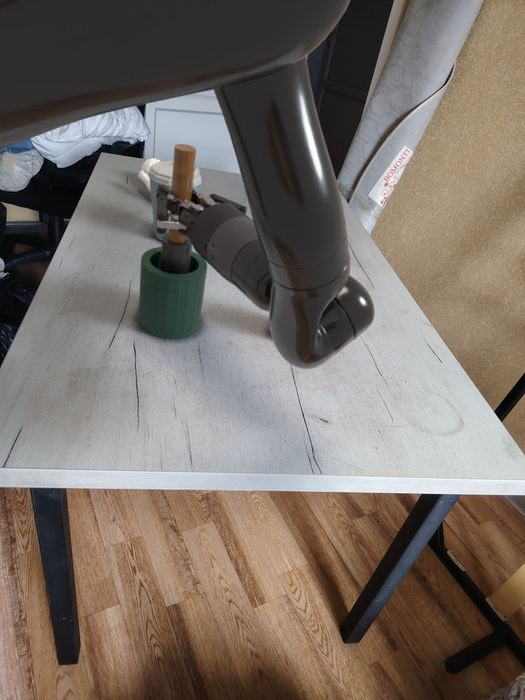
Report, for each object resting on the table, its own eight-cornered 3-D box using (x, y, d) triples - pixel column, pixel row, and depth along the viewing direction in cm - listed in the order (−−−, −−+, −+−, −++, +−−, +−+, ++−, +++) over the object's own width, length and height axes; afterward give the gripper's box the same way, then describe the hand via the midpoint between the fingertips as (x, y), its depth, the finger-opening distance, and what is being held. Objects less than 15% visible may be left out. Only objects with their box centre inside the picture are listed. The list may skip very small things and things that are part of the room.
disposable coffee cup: (151, 248, 97) (155, 175, 88) (139, 225, 104) (142, 154, 95) (201, 247, 101) (210, 177, 92) (186, 225, 109) (193, 158, 100)
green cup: (147, 342, 73) (151, 280, 67) (132, 306, 80) (134, 247, 73) (207, 335, 78) (216, 276, 71) (188, 302, 84) (195, 245, 78)
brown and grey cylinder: (164, 277, 70) (174, 152, 60) (156, 262, 73) (164, 140, 63) (193, 275, 72) (207, 154, 62) (184, 261, 75) (196, 142, 65)
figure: (125, 169, 123) (141, 207, 110) (135, 145, 120) (152, 181, 107) (165, 184, 130) (185, 222, 117) (175, 162, 127) (196, 198, 114)
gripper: (287, 213, 60) (216, 163, 70) (187, 222, 52) (124, 165, 62) (275, 266, 64) (210, 212, 74) (181, 282, 56) (123, 219, 66)
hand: (171, 191), depth 68 cm, fingers closed on brown and grey cylinder, 3 cm apart
